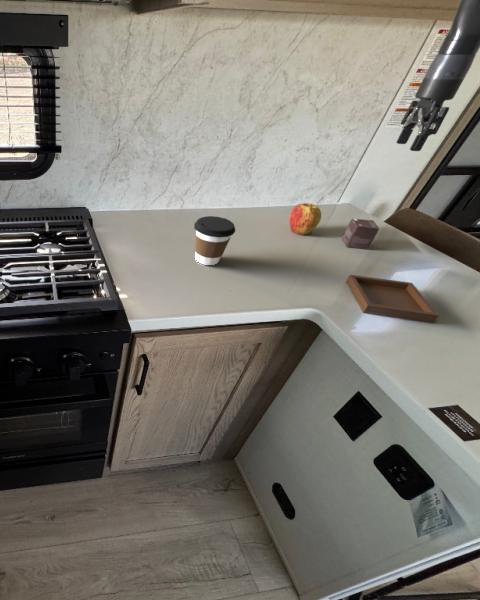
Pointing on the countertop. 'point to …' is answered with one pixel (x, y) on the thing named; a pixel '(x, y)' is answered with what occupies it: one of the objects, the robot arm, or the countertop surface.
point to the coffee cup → (212, 238)
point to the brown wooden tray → (391, 298)
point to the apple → (304, 218)
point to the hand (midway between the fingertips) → (407, 147)
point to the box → (360, 233)
